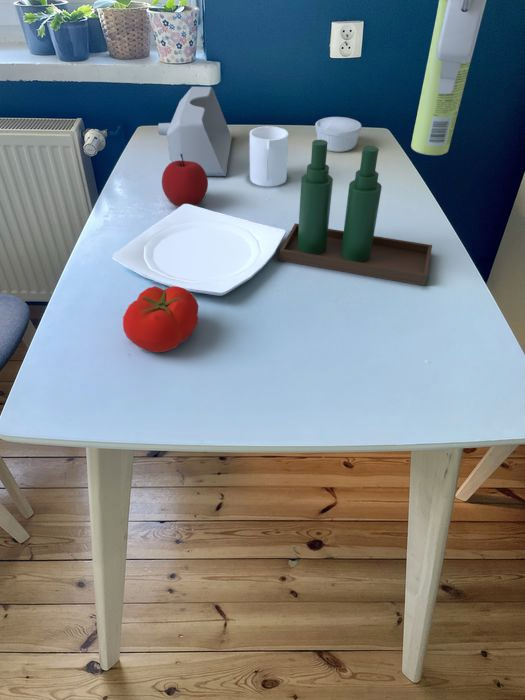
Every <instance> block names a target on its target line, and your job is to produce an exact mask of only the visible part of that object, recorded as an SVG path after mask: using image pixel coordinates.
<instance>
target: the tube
mask: <svg viewBox="0 0 525 700" xmlns="http://www.w3.org/2000/svg"><path fill="white" fill-rule="evenodd" d="M447 1H448V0H438V6H437V10H436V17H435V22H434V27H433V32H432V36H431V37H432V38H431V42H430V47H429V52H428V58H427V63H426V67H425V73H424V78H423V84H422V88H421V92H420V93H421V94H420V99H419V104H418V108H417V115H416V119H415V124H414V127H413V128H414V129H413V133H412V140H411V144H410V148H411V150H413V151H414V152H416V153H418V154H421V155H426V156H442V155H444V154H447V153H448V152H449V150H450V145H451V142H452V137H453V133H454V129H455V125H456V121H457V117H458V113H459V108H460V106H461V101H462V98H463V94H464V89H465V86H466V82H467V77H468V73H469V70H470V69H469V68H470V64H471V62H472V58H473V56H472V57H471V59H470V61H469V62H467V63H461V66H460V68H459V71H458V74H457V77H456V80H455V84H454V88H453V91H452V93H451V94H442V93H439V92H438V90H437V89H438V84H439V79H440V73H441V66H442V61H440V60H438V59H437V48H438V43H439V38H440V34H441V29H442V24H443V20H444V15H445V10H446V6H447ZM486 4H487V0H486V1H485V6H484V8H485V7H486ZM461 10H462V11H463V9H461ZM466 11H467V10H466ZM466 11H463V12H466ZM484 11H485V9H484V10H483V12H484ZM483 15H484V13H483V14H482V16H483ZM482 19H483V17H482V18H481V20H482ZM481 23H482V21H481V22H480V24H481ZM480 26H481V25H480ZM480 26H479V28H481V27H480ZM479 30H480V29H479ZM479 30H478V32H479ZM478 35H479V33H478V34H477V36H478Z"/></svg>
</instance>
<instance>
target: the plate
mask: <svg viewBox="0 0 525 700" xmlns="http://www.w3.org/2000/svg"><path fill="white" fill-rule="evenodd" d="M286 234H287V231H286V230H285V229H281V228H278V227H275V226H270V225H267V224H264V223H263V224H262V223H258V222H254V221H251V220H247V219H244V218H240V217H237V216H232V215H229V214H225V213H222V212H217V211H214V210H211V209H207V208H204V207H200V206H198V205H196V206H193V205H190V204H183V205H182V206H180V207H179V206H178V207H177V208H176V209H174V210H173V211H171V212H170V213H168V214H166V216H164V217H163V218H161V219H160V220H158V221H157V222H155V223H154V224H153V225H151V226H150V227H148V228H147V229H145V230H144V231H143V232H141V233H140V234H138V235H137V236H136V237H135V238H133V239H132V240H130V241H129V242H128V243H126V244H124V245H123V246H122V247H121V248H119V249H118V250H117V251H115V252H114V253H113V254H111V258H112V260H113V261H115V262H117V263H118V264H120V265H122V266H124V267H126V268H127V269H128V270H131V271H132V272H134V273H136V274H138V275H140V276H142V277H143V278H145V279H147V280H148V279H149V280H150V281H153V282H156V283H158V284H161V285H164V286H168V287H172V286H177V287H181V288H184V289H186V290H187V291H188V292H190V293H192V292H193V293H198V294H206V295H211V296H224V295H227V294H228V293H229V292H231V291H233V290H234V289H236V288H238V287H239V286H241V285H243V284H244V283H246V282H247V281H249V280H251V279H252V278H253V277H254V276H255V275H256V274H258V272H259V271H260V270H262V268H264V266H265V265H266V264H267V263H269V261H270V260H271V259H272V258H273V257H274V255H275V254H276V252H277V250H278V248H279V247H280V245H281V243H282V241H283V239H284V238H285V236H286Z"/></svg>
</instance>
